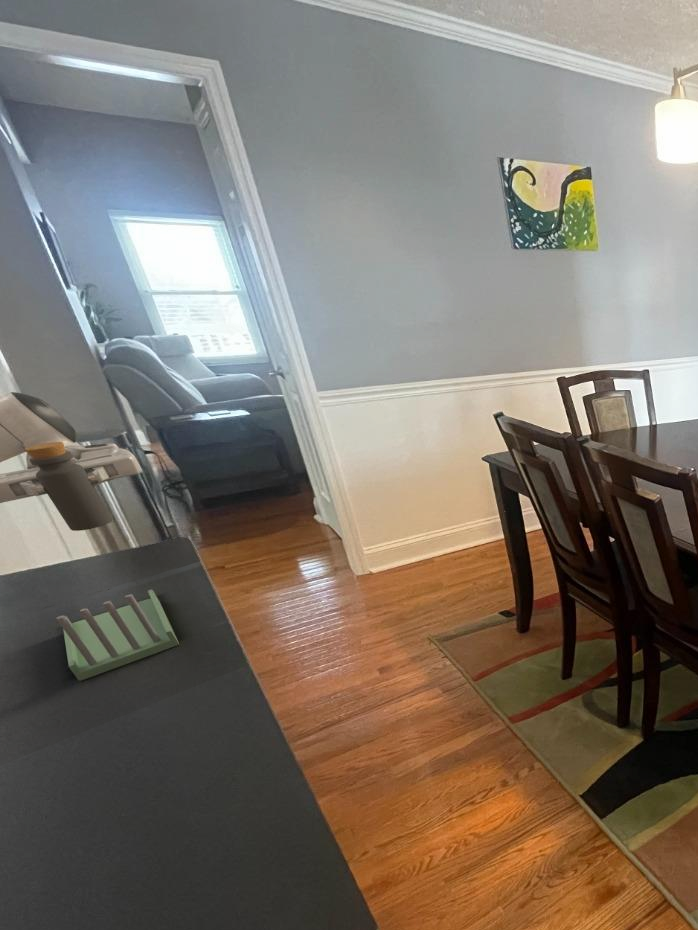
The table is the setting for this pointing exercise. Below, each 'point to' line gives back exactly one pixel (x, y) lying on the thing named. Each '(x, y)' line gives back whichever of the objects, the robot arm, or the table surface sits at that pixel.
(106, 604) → the drying rack
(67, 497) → the bottle
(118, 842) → the table surface
